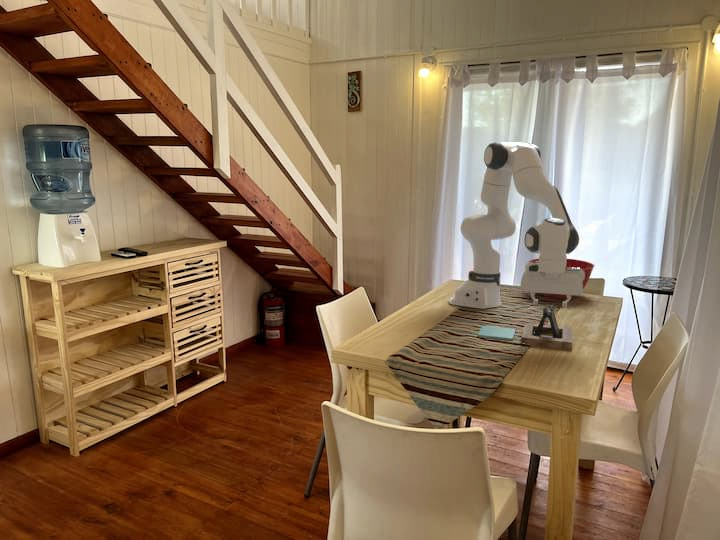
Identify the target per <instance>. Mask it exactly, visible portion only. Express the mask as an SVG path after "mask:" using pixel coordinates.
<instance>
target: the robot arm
mask: <svg viewBox="0 0 720 540" xmlns="http://www.w3.org/2000/svg"><path fill="white" fill-rule="evenodd" d="M541 157H542V153H541V151H540V148H539V146H537V145H535V144H533V143H525V142H517V141H513V142H511V141H509V142H499V141H496V142H491V143H489V144H488V145H487V146H486V148H485V150H484V153H483V162H484V164H485V166H486V169H485V173H484V176H483V182H482V187H481V192H480V193H481V194H480V201H481V203H482V204H483V205H485V206H486V207H487V213H486V214H474V215H471V216H467V217H464V219H463V220H462V221H461V223H460V224H461V225H460V233H461V235H462V236H463V239H464V240H466V241H467V242H468V243H469V245H470V246H471V249H472V254H473V269H470V271H468V275H467V278H468V279H467V280H466V281H464V282H463V283H461V284H460V285H458V286H457V288H456V289H455V291H454V296H451V297H450V298H449V300H448V303H449V304H450V305H454V306H459V307H460V306H461V307H467V308H475V309H482V310H483V309H488V308H490V309H491V308H496V307H500V306H502V305H503V303H502V300H501V293H500V292H501V291H500V284H501V272H500V267H501V255H500V253H499V251H497V250H496V249H494V248H493V246H492V245H493V244H492V241H495V240H496V241H497V240H504V239H507V238H510V237H512V236H513V235H514V234H515V232H516V229H517V227H516V225H517V224H516V221H515V220H516V219H514V217H513V216H512V215H511V213H510V211H509V207H508V205H509V204H508V201H509V195H510V188H511V183H512V179H513V184H514V188H515V190H516V192H517V194H519V195H520V196H522V197H524V198H525V199H528V200H531V201H534V202H537V203H539V204H541V205H543V206H545V207H546V208H548V210H549V211H550V215H551V217H547V218H546V217H545V218H544V219H543V220H542V223H540V224H538V225H535V226H530V227H529V229H527V230H526V232H525V234H524V246H525V248H526V249H527V250H528V251H529V252H530V253H533V254H539V257H538V259H539V260H538V261H534V262H529V261H528V262H527V263H526V264H525V266H524V272H523V273H522V276H521V280H520V286H519V289H520V291H521V292H523V293H530V297H531V299H532V301H533V302H532V304H533V306H539V299H536V296H535V295H536V293H538V294H542V293H548V294H562V295H567V299H565V301H562V306H561V307H562V308H563V309H564V308H566V309H567V308H568V303H569V302H570V300H571V299H572V298H571V295H576V296H575V297H577V296H578V297H579V296H582V294H583V291H584V289H583V284H582V281H583V280H584V279H585V272H584V271H583V270H582V269H580V268H571V267H566V262H567V259H568V258H567V255H569V254H571V253H573V251H574V250H576V249H577V247H578V245H579V243H580V236H579V232H578V231H577V229H576V227H575V226H574V224H573V223H572V220H571V218H570V216H569V215H570V214H569V213H568V210H567V208H566V205H565V202H564V200H563V197H562V196H561V194H560V193H561V192H559V189H558V188H557V186H555V185H553V184H552V183H551V182H550V181H549V179H548V177H547V176H546V174H545V170H544V165H543V162H542V160H541ZM580 270H581V271H580Z"/></svg>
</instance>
